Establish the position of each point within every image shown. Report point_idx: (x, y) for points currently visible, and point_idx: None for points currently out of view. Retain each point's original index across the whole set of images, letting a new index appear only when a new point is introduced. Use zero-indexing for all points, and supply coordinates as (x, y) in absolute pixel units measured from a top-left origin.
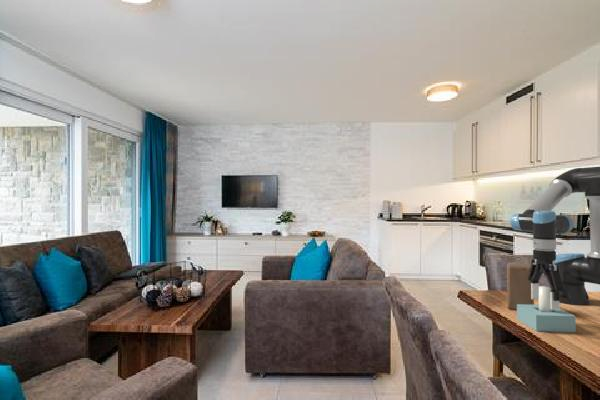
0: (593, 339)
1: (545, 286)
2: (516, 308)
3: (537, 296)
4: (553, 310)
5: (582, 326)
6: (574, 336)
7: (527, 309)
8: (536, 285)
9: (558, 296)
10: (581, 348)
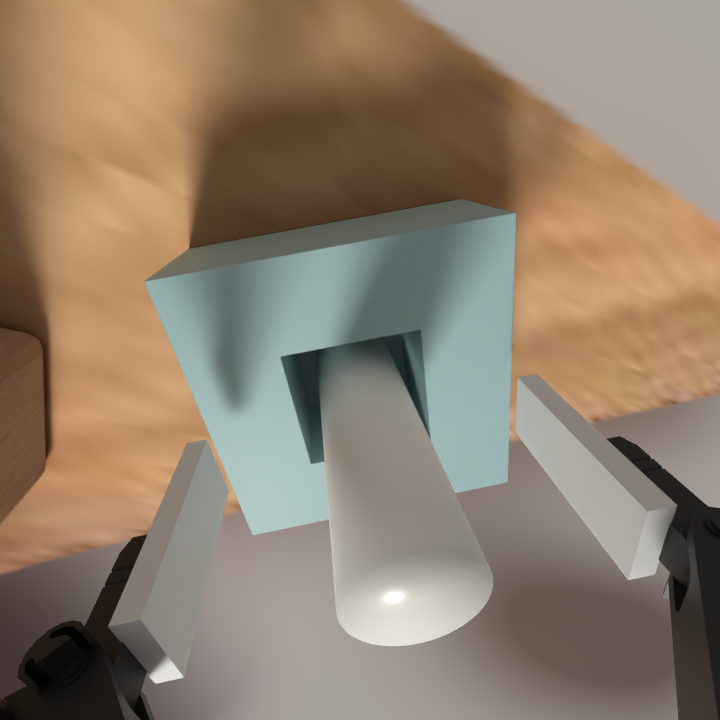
0: (590, 141)
1: (355, 587)
2: (44, 437)
3: (203, 475)
4: (362, 340)
5: (307, 58)
6: (538, 246)
7: None
8: (168, 613)
9: (666, 481)
10: (700, 291)
